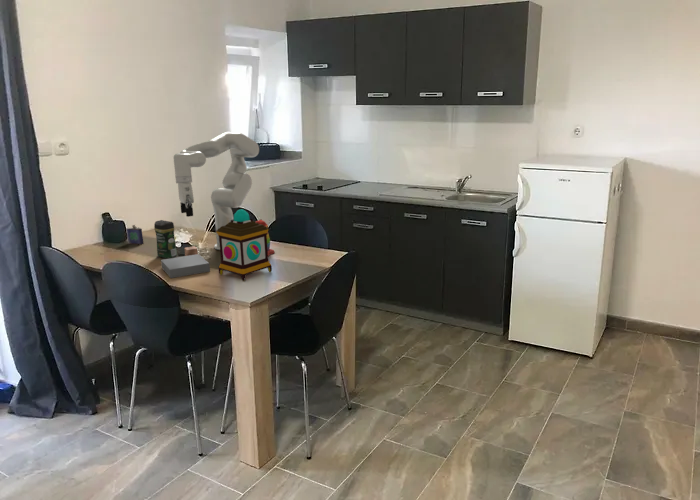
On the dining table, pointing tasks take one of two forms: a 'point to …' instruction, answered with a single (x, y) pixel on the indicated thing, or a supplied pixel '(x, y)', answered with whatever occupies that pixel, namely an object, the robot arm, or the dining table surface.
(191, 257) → the gray square slab
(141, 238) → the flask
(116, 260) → the dining table surface
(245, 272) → the decorative lantern
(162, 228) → the coffee jar
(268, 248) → the stacking bear
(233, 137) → the robot arm
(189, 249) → the terracotta block
